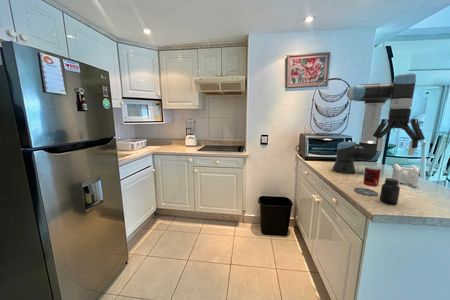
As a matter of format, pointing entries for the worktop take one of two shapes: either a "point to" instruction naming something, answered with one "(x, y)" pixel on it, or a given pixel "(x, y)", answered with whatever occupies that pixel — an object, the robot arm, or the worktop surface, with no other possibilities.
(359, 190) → the coaster
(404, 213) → the worktop surface
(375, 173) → the canned food
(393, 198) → the supplement bottle
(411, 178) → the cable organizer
